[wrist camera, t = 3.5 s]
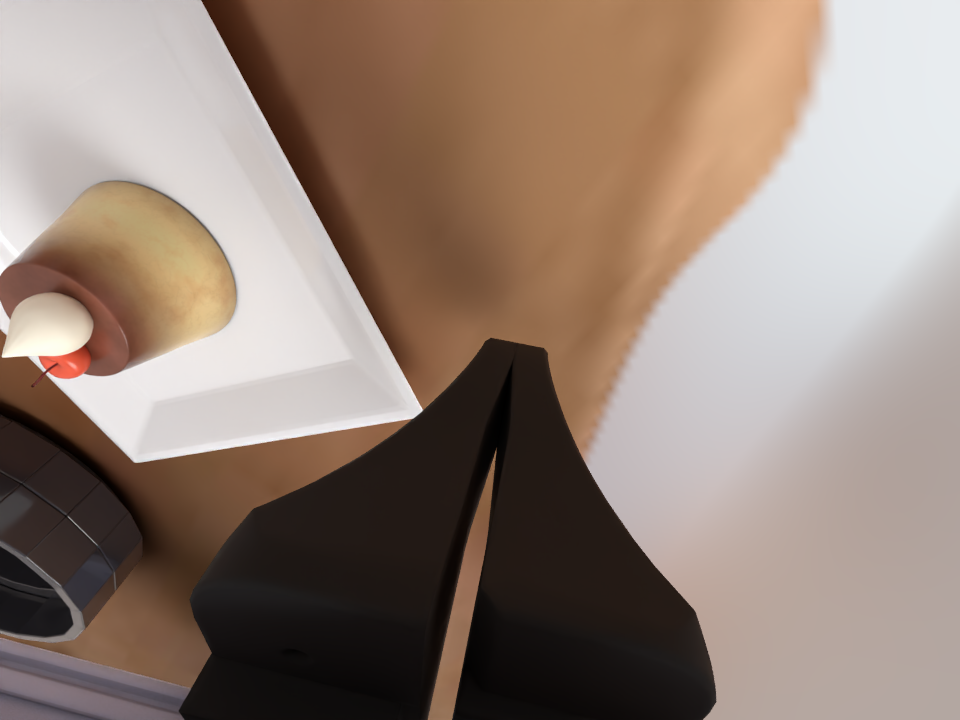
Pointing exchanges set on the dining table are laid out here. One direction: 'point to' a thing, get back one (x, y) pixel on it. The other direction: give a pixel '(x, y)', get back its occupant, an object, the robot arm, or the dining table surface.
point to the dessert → (170, 240)
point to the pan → (57, 538)
